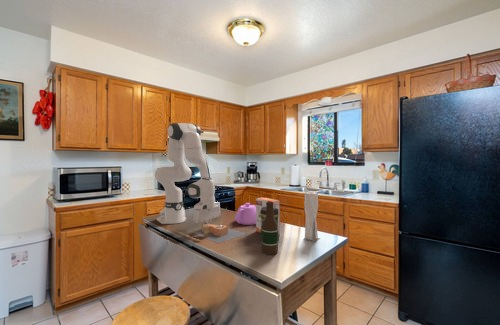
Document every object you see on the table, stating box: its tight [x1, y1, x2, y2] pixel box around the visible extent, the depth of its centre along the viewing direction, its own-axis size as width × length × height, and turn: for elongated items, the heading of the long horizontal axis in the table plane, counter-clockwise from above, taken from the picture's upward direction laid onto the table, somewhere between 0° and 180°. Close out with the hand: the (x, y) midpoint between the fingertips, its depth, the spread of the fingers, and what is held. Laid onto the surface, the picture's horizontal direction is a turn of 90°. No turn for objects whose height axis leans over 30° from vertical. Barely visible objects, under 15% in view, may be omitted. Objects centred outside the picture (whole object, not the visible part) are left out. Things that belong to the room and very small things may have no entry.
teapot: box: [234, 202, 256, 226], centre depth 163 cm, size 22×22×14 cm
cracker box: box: [255, 197, 281, 237], centre depth 140 cm, size 14×6×21 cm, turn 42°
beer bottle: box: [261, 201, 279, 256], centre depth 115 cm, size 8×8×24 cm
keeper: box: [203, 224, 209, 238], centre depth 136 cm, size 6×3×7 cm, turn 17°
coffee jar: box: [260, 206, 280, 242], centre depth 129 cm, size 10×8×19 cm
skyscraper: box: [303, 188, 321, 243], centre depth 133 cm, size 8×8×28 cm
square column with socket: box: [201, 222, 229, 236], centre depth 141 cm, size 16×6×4 cm, turn 58°
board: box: [192, 227, 248, 244], centre depth 140 cm, size 24×21×1 cm
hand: (208, 226), depth 147 cm, fingers closed
